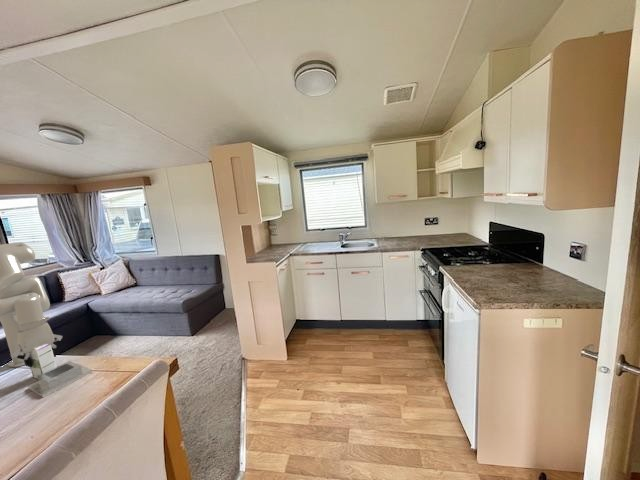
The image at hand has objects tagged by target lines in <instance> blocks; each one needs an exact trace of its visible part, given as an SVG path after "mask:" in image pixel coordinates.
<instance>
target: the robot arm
mask: <svg viewBox="0 0 640 480" xmlns="http://www.w3.org/2000/svg"><path fill="white" fill-rule="evenodd" d="M35 259H36V253H35V251H34V250H33V248H32V247H31V246H30V245H28V244H26V243H24V242H12V243H3V244H0V324H1V326H2V329H3V331H4V335H5V338H6V343H7V346H8V349H9V352H10V353H9V355H10V357H11V359H12V360H11V361H9V362H8V364H7V365H8V367H9V368H17V367H22V366H25V367H28V368H30V367H32V362H31V359H30V358H29V355H30V353H31V352H32V351H33V349H35V348H37V347H39V346H42V345H44V344H51V347H52V351H53V355H54V358H56V357H57V354H58V352H57V346H58V345H59V343H60V341H61V340H62V339H63V335H61V334H54V333H53V330H52V328H51V326H50V324H49V323H48V322H47V321H49V320H50V317H49V316H45V315H44V312H46V311H48V310H49V309H50V307H51V303H50V299H49V297H48V294H47V292H46V289H45V287H44V285H43V282H42V280H41V279H40V278H39V277H38V276H37V275H26V276H25V272H24V270H23V268H22V266H21V265H22V264H28V263H32V262H35ZM12 361H13V362H12ZM10 362H11V363H10Z"/></svg>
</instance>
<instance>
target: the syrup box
mask: <svg viewBox="0 0 640 480" xmlns="http://www.w3.org/2000/svg"><path fill="white" fill-rule="evenodd" d="M29 358H30V359H31V362H32V367H29V368H30V370H31V373H32V378H33V379H38V378H37V375H40V374H42V373H44V372H46V371H48V370H51V369H53V368H55V367H57V363H56V359H55V358H56V357H54V355H53V351H52V347H51V344H44V345H42V346H39V347H37V348H35V349H33V351H32V352H31V353H30V355H29Z"/></svg>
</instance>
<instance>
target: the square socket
mask: <svg viewBox="0 0 640 480" xmlns="http://www.w3.org/2000/svg"><path fill="white" fill-rule="evenodd" d="M56 366H57V365H56ZM92 373H93V369H92V368H89V367H87V366H85V365H82V364H81V363H80V364H79V363H76V362H73V361H71V360H69V361H66V362H64V363H61V364H59V365H58V366H57V367H55V368H53V369H51V370H48V371H46V372H44V373H42V374H40V375H37V378H36V379H37V381H36V382H34V383H31V384H29V385H28V386H27V388H28V389H29V390H30V391H32V392H33V393H35V394H36V395H38V396H40V397H41V398H45V397H47V396H49V395H51V394H53V393H55V392H57V391H59V390H61V389H63V388H65V387H66V386H68V385H70V384H73V383H75V382H77V381H79V379H82V378H84V377H86V376H89V374H92Z"/></svg>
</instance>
